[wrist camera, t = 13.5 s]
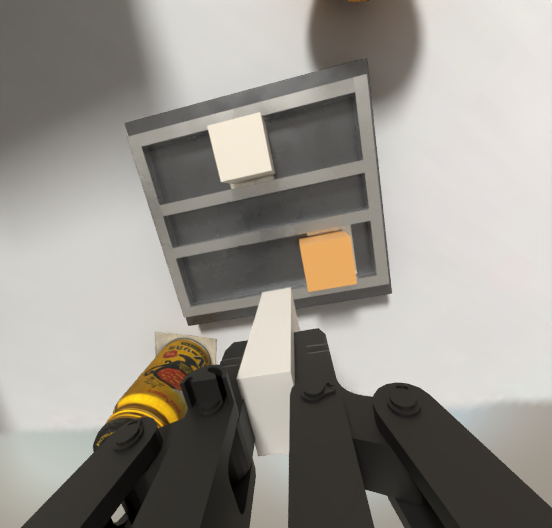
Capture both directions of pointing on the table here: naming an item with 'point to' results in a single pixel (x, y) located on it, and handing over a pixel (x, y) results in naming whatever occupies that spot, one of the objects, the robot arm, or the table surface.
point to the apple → (357, 0)
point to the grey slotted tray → (266, 194)
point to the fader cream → (241, 149)
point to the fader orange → (328, 260)
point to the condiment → (161, 383)
